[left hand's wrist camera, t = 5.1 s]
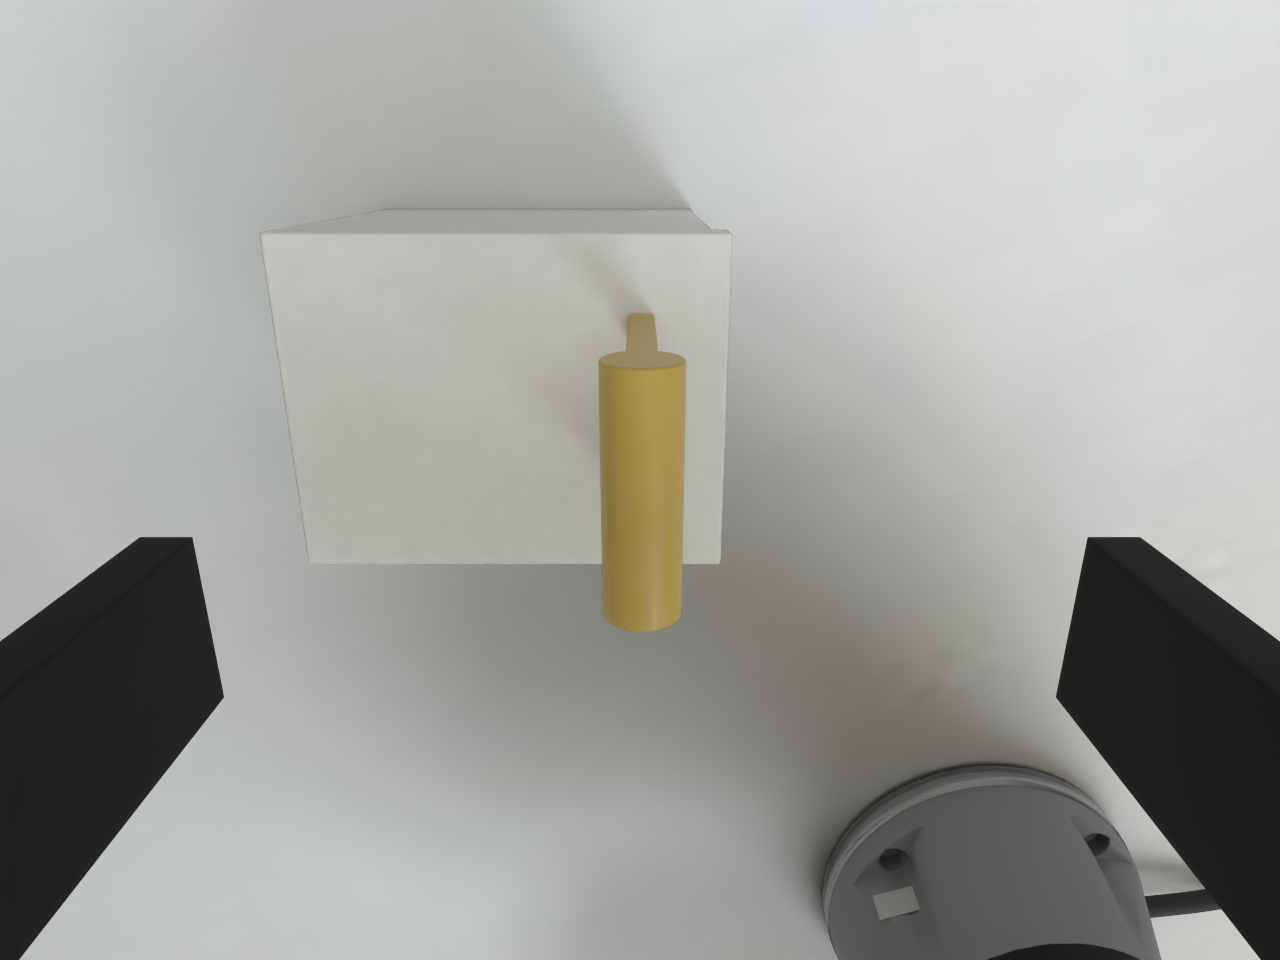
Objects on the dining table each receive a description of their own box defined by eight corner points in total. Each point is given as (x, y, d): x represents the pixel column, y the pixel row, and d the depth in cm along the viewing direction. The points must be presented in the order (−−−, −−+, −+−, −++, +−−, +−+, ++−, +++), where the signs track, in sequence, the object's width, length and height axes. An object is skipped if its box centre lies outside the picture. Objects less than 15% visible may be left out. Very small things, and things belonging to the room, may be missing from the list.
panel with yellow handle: (729, 229, 23) (774, 262, 15) (717, 550, 26) (750, 710, 18) (273, 229, 23) (88, 262, 15) (319, 551, 26) (187, 711, 18)
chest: (691, 209, 33) (713, 228, 23) (686, 445, 36) (704, 550, 26) (383, 209, 33) (273, 228, 23) (406, 445, 36) (319, 550, 26)
